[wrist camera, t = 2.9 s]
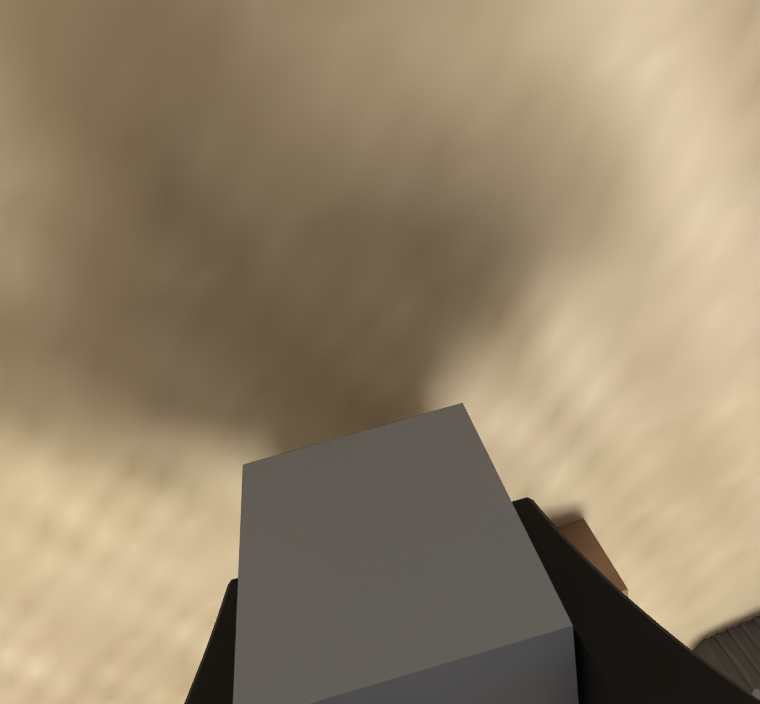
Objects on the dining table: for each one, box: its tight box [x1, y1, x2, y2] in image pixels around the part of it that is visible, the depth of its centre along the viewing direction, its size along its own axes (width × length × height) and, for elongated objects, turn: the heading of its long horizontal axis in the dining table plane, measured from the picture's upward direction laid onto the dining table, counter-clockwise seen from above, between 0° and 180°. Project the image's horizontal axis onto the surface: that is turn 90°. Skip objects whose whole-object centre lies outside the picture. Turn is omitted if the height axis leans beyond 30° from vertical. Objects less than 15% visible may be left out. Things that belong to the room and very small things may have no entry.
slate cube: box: [233, 403, 579, 704], centre depth 11 cm, size 4×4×5 cm
